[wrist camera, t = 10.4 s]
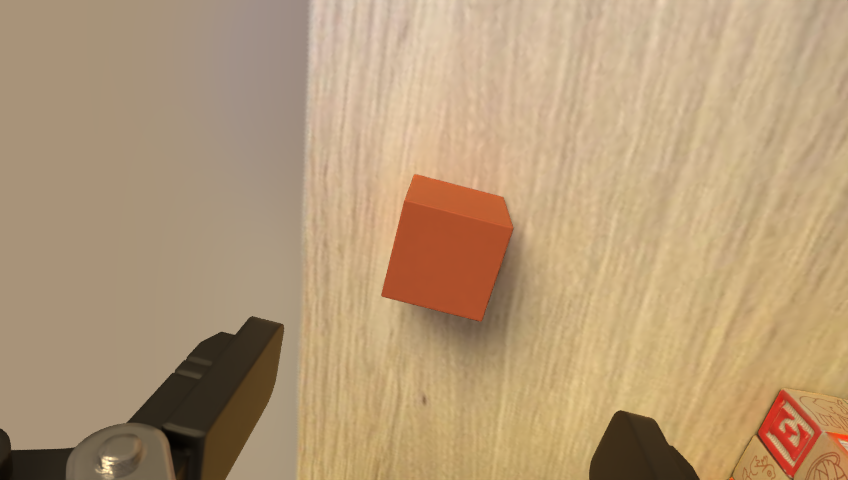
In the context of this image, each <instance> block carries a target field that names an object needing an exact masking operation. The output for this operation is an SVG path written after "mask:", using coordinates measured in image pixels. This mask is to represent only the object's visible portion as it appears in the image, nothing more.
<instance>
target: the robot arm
mask: <svg viewBox="0 0 848 480" xmlns="http://www.w3.org/2000/svg"><path fill="white" fill-rule="evenodd" d="M283 333H284V325H283V324H281V323H277V322H273V321H269V320H265V319H261V318H257V317H253V316H252V317H250V318H249V319H248V320H247V321H246V322H245V324H244V325H243V326H242V327H241V329H240V330H239V331H238V332H237V333H236V335H232V334H229V333H224V332H220V333H218V334H216V335H214V336H212V337H210V338H208V339H206V340H204V341H202V342H201V343H199V345H198V346H197V347H196V348H195V349H194V350H193V351H192V352H191V353H190V354H189V355H188V357H187V359H186V360H184V361H183V362H182V363H181V364H180V365H179V366H178V368H177V369H176V370H175V373H172V374H171V375H170V376H169V377H168V378H167V380H166V381H165V382H164V383H163V384H162V385H161V386H160V387H159V388H158V389H157V391H155V393H154V394H153V395H152V396H151V397H150V398H149V399H148V400H147V401H146V403H145V404H144V405H143V406H142V407H141V408H140V409H139V410H138V411H137V412H136V413H135V414H134V415H133V417H132V418H131V419H130V420H129V421H128V422H127V423H123V424H117V425H113V426H109V427H106V428H104V429H101V430H99V431H97V432H95V433H93V434H91V435H90V436H88V437H87V438H85V439H84V440H83V441H82V442H80V443H79V444H78V445H77V446H76V447H74V448H66V449H41V450H11V443H10V439H9V436H8V435H7V433H6V432H4V431H3V430H2V429H0V480H225V479H226V477H227V475H228V474H229V472H230V470H231V468H232V466H233V465H234V463H235V461H236V459H237V457H238V456H239V454H240V452H241V450H242V449H243V447H244V445H245V443H246V441H247V440H248V438H249V436H250V434H251V432H252V431H253V429H254V427H255V425H256V423H257V422H258V420H259V418H260V416H261V415H262V413H263V411H264V409H265V407H266V406H267V403H268V402H269V399H270V397H271V394H272V391H273V388H274V385H275V381H276V376H277V370H278V364H279V358H280V352H281V346H282V340H283ZM589 480H700V479H699V478H698V476H697V474H696V472H695V471H694V469H693V467H692V466H691V465H690V464H689V463H688V462H687V461H686V459H685V458H684V457H683V456H682V455H681V454H680V453H679V452H678V451H677V450H676V449H675V448H674V447H673V446H670V445H669V444H668V443H667V441H666V439H665V437H664V435H663V433H662V431H661V430H660V428H659V426H658V424H657V423H656V421H655V420H654V419H652V418H649V417H645V416H641V415H637V414H633V413H629V412H625V411H621V410H620V411H617V412H616V413H615V414H614V416H613V417H612V419H611V421H610V423H609V425H608V427H607V429H606V431H605V433H604V435H603V437H602V439H601V441H600V443H599V445H598V447H597V449H596V451H595V453H594V455H593V458H592V460H591V464H590V470H589Z"/></svg>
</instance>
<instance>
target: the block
mask: <svg viewBox="0 0 848 480" xmlns="http://www.w3.org/2000/svg"><path fill="white" fill-rule="evenodd" d="M512 231H513V225H512V222H511V219H510V216H509V213H508V210H507V207H506V204H505V201H504V198H503V197H501V196H497V195H493V194H489V193H485V192H481V191H478V190H474V189H470V188H466V187H462V186H458V185H455V184H451V183H447V182H443V181H439V180H435V179H432V178H428V177H424V176H420V175H416V174H414V176H413V179H412V182H411V184H410V187H409V190H408V192H407V195H406V198H405V200H404V204H403V208H402V212H401V217H400V221H399V225H398V229H397V233H396V237H395V241H394V245H393V249H392V253H391V257H390V262H389V266H388V270H387V274H386V278H385V282H384V286H383V290H382V294H381V295H382V297H386V298H390V299H394V300H398V301H402V302H406V303H410V304H413V305H417V306H421V307H425V308H429V309H433V310H437V311H441V312H445V313H449V314H453V315H457V316H461V317H465V318H469V319H473V320H476V321H482V320H483V317H484V314H485V311H486V308H487V305H488V302H489V299H490V296H491V293H492V290H493V287H494V284H495V281H496V279H497V276H498V273H499V270H500V267H501V264H502V261H503V258H504V255H505V252H506V249H507V246H508V243H509V240H510V237H511V234H512Z"/></svg>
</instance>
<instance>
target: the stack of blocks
mask: <svg viewBox="0 0 848 480" xmlns="http://www.w3.org/2000/svg"><path fill="white" fill-rule="evenodd" d="M729 480H848V400H846V399H840V398H838V397H834V396H828V395H823V394H817V393H811V392H806V391H801V390H794V389H785V388H782V389H781V391H780V392H779V394H778V396H777V398H776V400H775V402H774V404H773V406H772V407H771V409H770V411H769V413H768V415H767V417H766V418H765V420H764V422H763V424H762V426H761V428H760V429H759V431H758V435H754V436H753V438H752V440H751V441H750V443H749V445H748V446H747V448H746V450H745V452H744V453H743V455H742V457H741V459H740V461H739V462H738V464H737V466H736V468H735V470H734V473H733V476H732V477H730V479H729Z"/></svg>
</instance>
